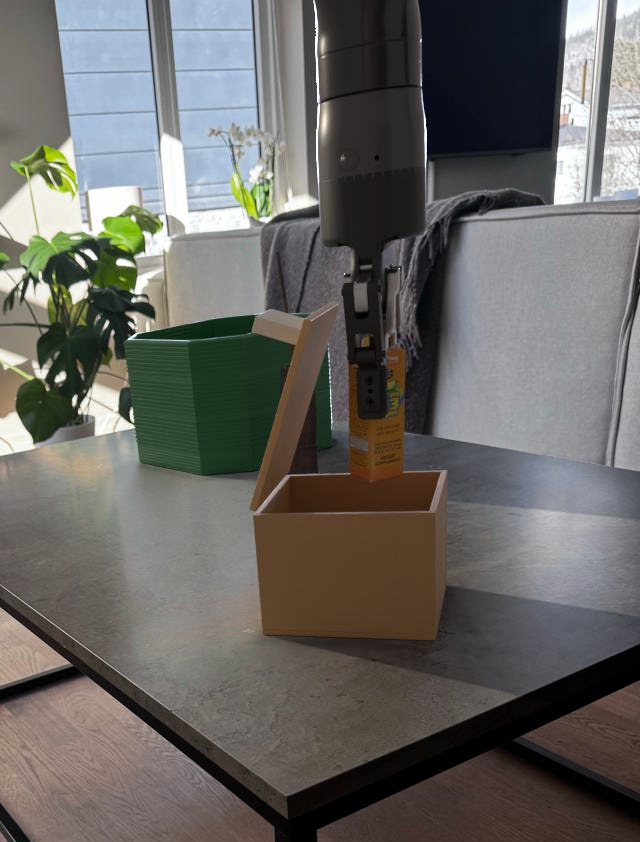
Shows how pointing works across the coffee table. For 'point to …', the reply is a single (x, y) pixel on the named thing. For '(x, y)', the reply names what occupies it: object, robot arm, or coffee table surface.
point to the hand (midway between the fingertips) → (377, 410)
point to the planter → (212, 394)
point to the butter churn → (307, 444)
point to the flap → (292, 387)
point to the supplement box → (379, 427)
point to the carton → (353, 556)
